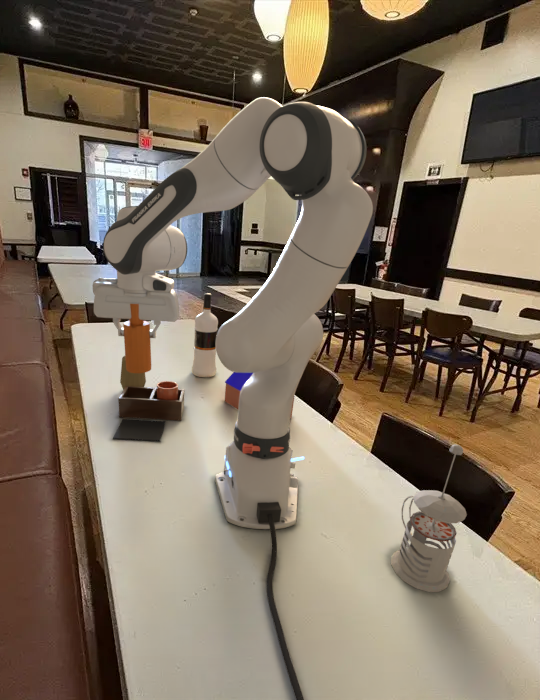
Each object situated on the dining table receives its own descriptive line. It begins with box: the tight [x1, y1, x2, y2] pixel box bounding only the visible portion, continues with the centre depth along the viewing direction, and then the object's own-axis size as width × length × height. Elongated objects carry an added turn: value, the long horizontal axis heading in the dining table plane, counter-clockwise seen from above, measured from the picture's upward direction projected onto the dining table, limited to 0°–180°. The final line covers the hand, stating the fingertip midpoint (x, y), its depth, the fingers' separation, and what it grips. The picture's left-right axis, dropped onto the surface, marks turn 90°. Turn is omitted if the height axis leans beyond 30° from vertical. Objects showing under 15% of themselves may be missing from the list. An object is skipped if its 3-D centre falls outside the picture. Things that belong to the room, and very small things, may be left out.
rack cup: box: [156, 380, 179, 400], centre depth 121 cm, size 6×6×9 cm
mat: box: [112, 418, 166, 443], centre depth 111 cm, size 11×12×1 cm
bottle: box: [122, 304, 152, 374], centre depth 103 cm, size 6×6×17 cm
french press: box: [390, 443, 468, 593], centre depth 69 cm, size 10×12×25 cm
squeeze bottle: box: [119, 355, 147, 391], centre depth 131 cm, size 8×8×18 cm
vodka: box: [191, 292, 219, 378], centre depth 150 cm, size 9×9×30 cm
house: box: [224, 372, 296, 419], centre depth 128 cm, size 12×20×12 cm, turn 38°
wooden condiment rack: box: [118, 386, 186, 422], centre depth 121 cm, size 9×18×6 cm, turn 92°
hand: (137, 336), depth 103 cm, fingers closed on bottle, 6 cm apart
